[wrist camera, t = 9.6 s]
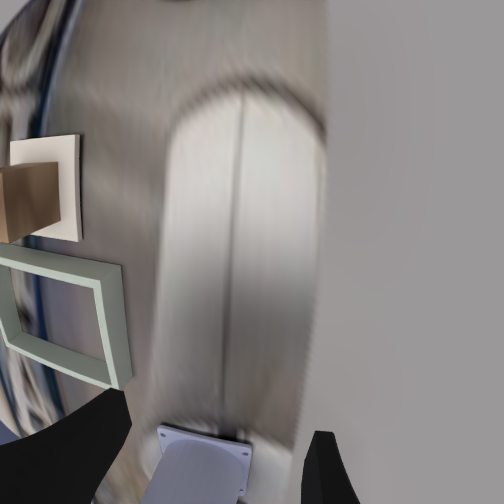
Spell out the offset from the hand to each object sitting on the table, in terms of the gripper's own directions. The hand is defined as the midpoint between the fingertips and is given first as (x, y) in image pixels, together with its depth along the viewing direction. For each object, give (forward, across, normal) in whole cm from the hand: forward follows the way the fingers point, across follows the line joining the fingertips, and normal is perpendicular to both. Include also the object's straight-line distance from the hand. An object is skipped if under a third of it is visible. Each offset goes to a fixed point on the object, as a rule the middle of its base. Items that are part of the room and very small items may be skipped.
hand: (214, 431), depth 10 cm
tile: (+9, +16, -6) cm, 19 cm away
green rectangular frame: (+9, +16, +3) cm, 18 cm away
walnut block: (+9, +15, -6) cm, 19 cm away
